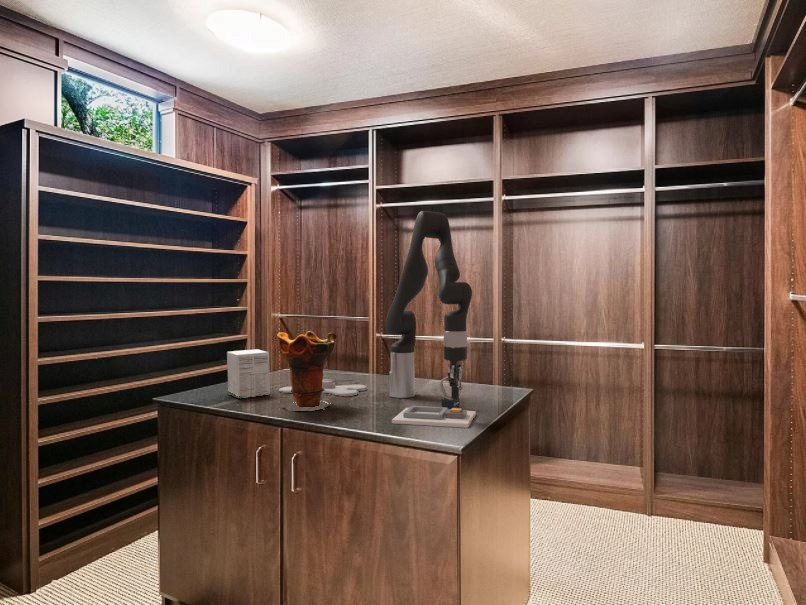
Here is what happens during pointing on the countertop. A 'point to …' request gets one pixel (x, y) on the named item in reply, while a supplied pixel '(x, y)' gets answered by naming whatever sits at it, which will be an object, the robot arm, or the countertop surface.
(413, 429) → the countertop surface
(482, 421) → the countertop surface
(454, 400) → the watch
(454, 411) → the button
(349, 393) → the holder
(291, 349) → the decorative vase
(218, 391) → the countertop surface
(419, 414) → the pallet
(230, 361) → the supplement box
